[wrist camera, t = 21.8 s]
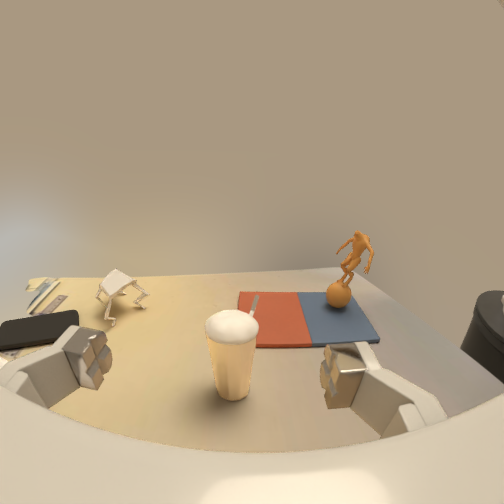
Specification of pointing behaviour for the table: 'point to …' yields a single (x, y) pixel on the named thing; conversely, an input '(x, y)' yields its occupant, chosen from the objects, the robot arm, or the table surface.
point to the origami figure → (118, 289)
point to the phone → (36, 329)
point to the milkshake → (232, 350)
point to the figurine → (349, 270)
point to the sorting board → (305, 320)
